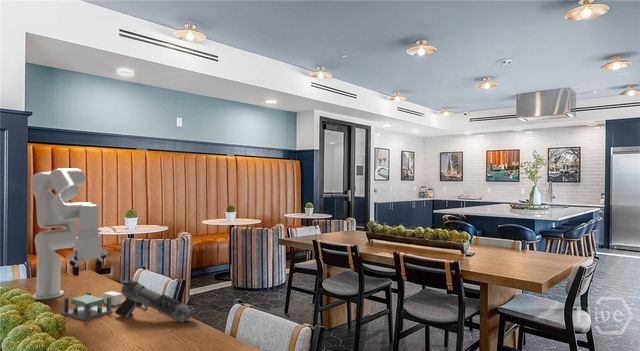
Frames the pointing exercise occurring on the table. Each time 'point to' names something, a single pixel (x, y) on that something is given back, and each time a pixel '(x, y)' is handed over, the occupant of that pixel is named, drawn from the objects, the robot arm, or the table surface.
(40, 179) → the robot arm
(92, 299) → the board
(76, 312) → the chassis
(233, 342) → the table surface
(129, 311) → the firearm
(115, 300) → the riser
